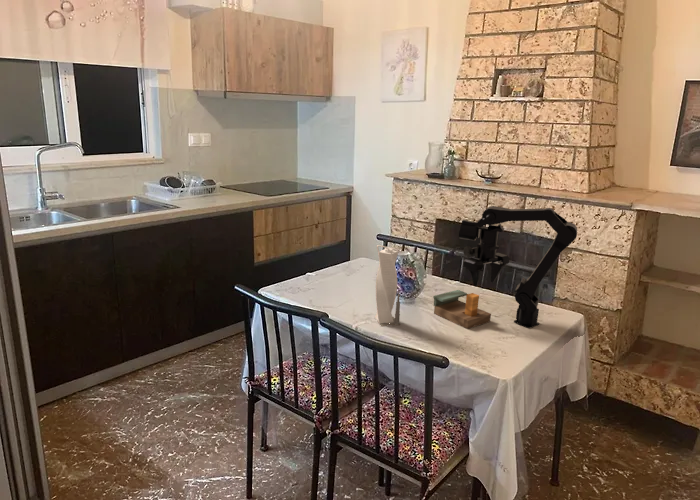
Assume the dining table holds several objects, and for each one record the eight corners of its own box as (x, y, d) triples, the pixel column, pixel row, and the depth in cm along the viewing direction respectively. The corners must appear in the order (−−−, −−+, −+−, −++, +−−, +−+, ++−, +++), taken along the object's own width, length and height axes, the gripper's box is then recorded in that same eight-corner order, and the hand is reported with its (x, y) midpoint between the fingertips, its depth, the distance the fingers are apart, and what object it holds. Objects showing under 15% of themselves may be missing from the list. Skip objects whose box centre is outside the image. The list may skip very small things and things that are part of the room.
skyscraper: (377, 327, 179) (381, 248, 171) (369, 318, 186) (373, 242, 179) (400, 325, 181) (405, 247, 173) (392, 316, 188) (396, 241, 181)
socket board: (491, 321, 187) (493, 303, 185) (466, 329, 179) (468, 310, 177) (456, 306, 199) (458, 289, 198) (432, 313, 192) (433, 295, 190)
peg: (476, 322, 186) (479, 295, 183) (470, 323, 184) (473, 297, 181) (469, 319, 188) (472, 292, 185) (464, 320, 186) (466, 294, 184)
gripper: (487, 234, 196) (483, 274, 200) (453, 240, 186) (449, 282, 190) (512, 241, 188) (507, 282, 192) (477, 247, 177) (473, 291, 181)
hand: (484, 284), depth 189 cm, fingers open, 9 cm apart
